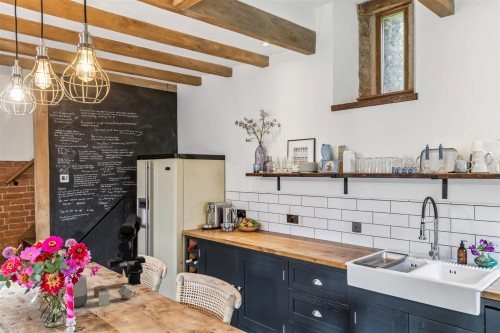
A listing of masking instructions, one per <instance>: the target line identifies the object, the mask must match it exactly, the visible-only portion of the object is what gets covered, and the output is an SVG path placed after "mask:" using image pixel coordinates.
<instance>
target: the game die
mask: <svg viewBox="0 0 500 333" xmlns="http://www.w3.org/2000/svg"><path fill="white" fill-rule="evenodd" d="M133 286H134V285H133V284H131V285H130V284H125V283H122V286H121V288H119V290H118V292H119V295H120V300H122V299H128V300H129V301H131V298H132V296H133V294H135V290H134V288H133Z"/></svg>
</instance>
